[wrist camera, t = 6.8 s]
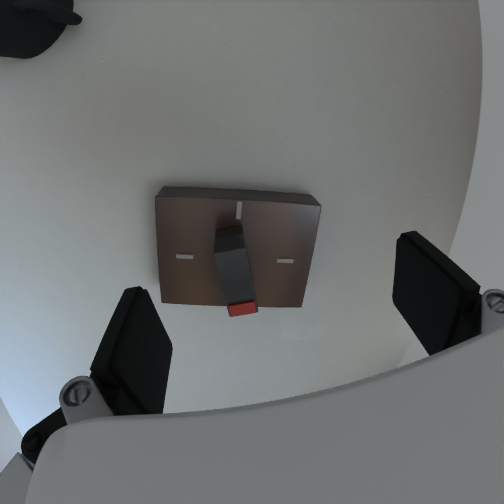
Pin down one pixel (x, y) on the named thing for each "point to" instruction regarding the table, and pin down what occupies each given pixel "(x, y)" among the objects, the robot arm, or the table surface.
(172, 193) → the panel
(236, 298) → the rotary selector knob
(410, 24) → the table surface
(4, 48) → the mug
